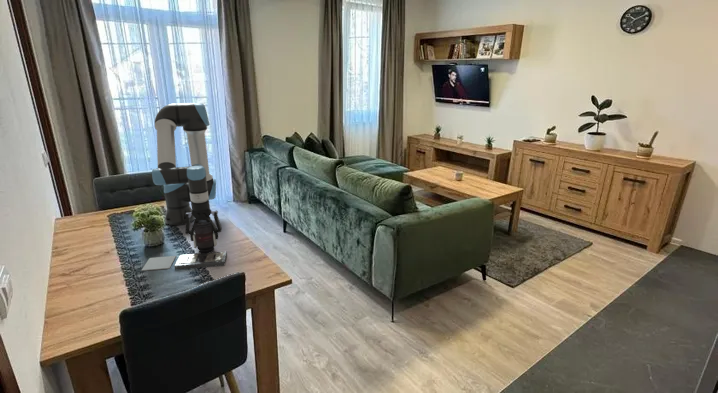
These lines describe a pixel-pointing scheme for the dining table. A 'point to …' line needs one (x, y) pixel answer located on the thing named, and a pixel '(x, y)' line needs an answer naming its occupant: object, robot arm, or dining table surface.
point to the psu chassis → (201, 260)
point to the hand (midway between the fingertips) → (205, 246)
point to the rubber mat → (159, 263)
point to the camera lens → (204, 236)
